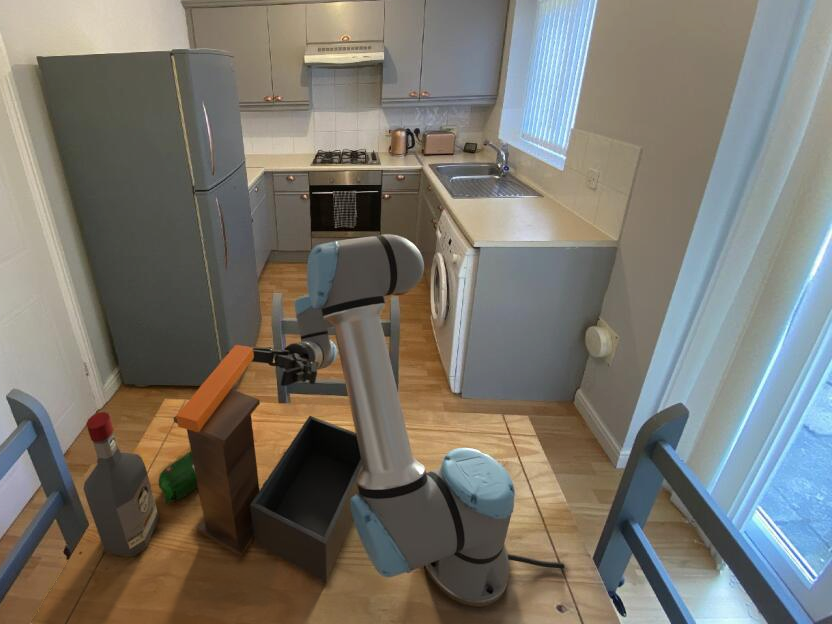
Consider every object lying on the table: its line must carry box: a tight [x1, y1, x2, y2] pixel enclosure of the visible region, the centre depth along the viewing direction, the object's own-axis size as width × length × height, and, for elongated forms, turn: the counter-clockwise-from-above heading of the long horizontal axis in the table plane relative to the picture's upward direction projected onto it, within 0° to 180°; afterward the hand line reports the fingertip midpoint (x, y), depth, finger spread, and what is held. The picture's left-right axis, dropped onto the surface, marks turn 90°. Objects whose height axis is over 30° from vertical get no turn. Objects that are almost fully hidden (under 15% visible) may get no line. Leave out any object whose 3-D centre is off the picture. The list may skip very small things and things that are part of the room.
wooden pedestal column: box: [173, 388, 261, 558], centre depth 80 cm, size 11×10×30 cm
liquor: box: [83, 411, 160, 558], centre depth 78 cm, size 9×9×30 cm
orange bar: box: [175, 344, 254, 432], centre depth 78 cm, size 4×20×2 cm, turn 161°
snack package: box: [158, 451, 198, 504], centre depth 94 cm, size 7×16×5 cm, turn 131°
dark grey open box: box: [250, 415, 363, 583], centre depth 86 cm, size 16×24×11 cm, turn 153°
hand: (254, 368), depth 83 cm, fingers open, 13 cm apart
